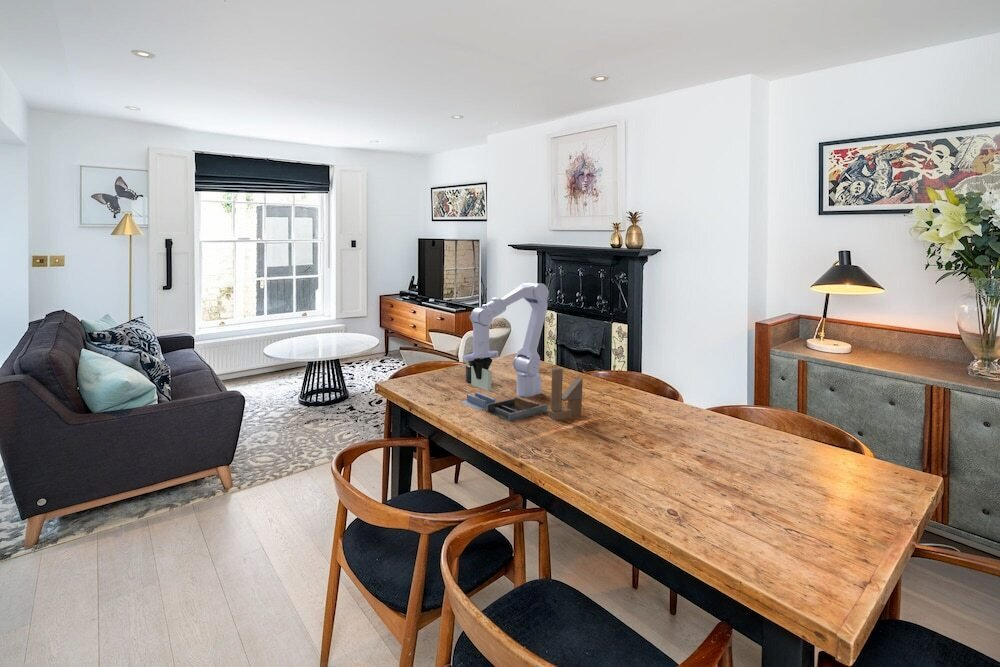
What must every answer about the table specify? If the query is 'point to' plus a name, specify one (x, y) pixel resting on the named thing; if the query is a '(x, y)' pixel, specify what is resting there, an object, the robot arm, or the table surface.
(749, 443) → the table surface
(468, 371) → the ink bottle
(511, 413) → the slotted rack
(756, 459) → the table surface
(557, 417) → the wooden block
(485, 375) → the pale green slab
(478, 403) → the sheet stand
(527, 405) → the offcut stack
